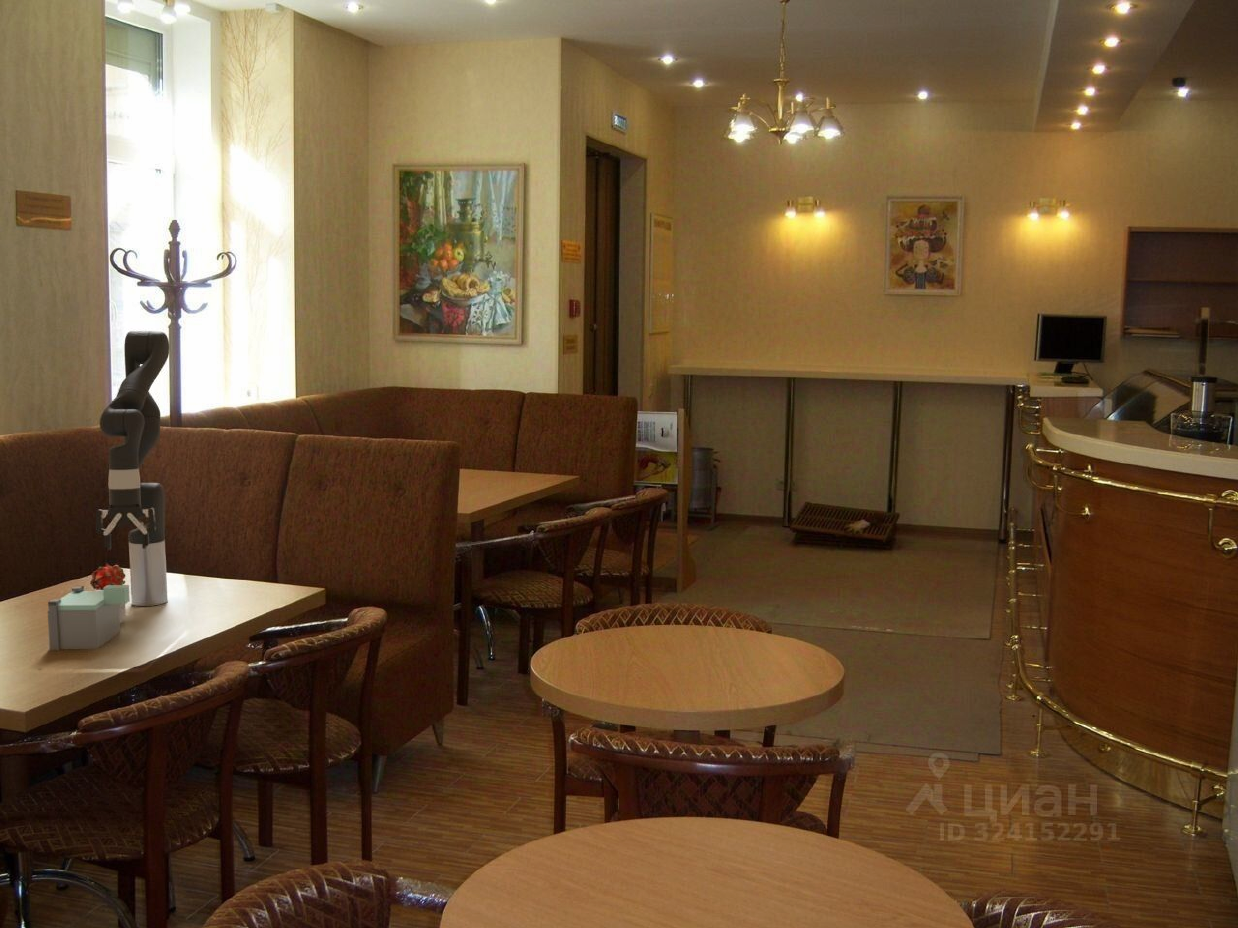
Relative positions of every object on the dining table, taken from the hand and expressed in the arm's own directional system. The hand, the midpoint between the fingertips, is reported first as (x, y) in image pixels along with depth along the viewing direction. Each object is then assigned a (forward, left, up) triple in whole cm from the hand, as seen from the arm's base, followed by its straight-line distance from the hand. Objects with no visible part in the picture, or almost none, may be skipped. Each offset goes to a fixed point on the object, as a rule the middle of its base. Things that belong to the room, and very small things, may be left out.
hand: (126, 548), depth 311 cm
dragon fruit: (-31, -17, -19) cm, 40 cm away
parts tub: (+22, -3, -19) cm, 29 cm away
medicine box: (+5, -4, -19) cm, 20 cm away
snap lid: (+22, 0, -9) cm, 24 cm away
